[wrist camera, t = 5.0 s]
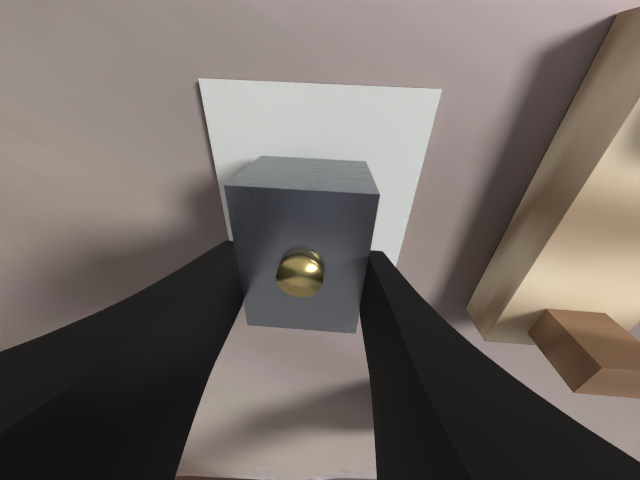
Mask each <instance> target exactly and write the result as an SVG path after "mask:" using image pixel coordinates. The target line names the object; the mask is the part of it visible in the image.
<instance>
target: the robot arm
mask: <svg viewBox="0 0 640 480" xmlns="http://www.w3.org/2000/svg"><path fill="white" fill-rule="evenodd" d="M243 301H244V298H243V292H242V286H241V280H240V274H239V268H238V262H237V256H236V250H235V247H234V243H233V241H227V240H226V241H225V242H223V243H221V244H219V245H217V246H216V247H214V248H213V249H211V250H209V251H208V252H206V253H205V254H203V255H201V256H200V257H198V258H197V259H195V260H193V261H192V262H190V263H188V264H187V265H185V266H184V267H182V268H180V269H179V270H177V271H175V272H174V273H172V274H170V275H168V276H167V277H165V278H163V279H161V280H160V281H158V282H156V283H154V284H153V285H151V286H149V287H147V288H146V289H144V290H142V291H140V292H138V293H136V294H134V295H132V296H130V297H128V298H127V299H124V300H122V301H120V302H118V303H116V304H114V305H112V306H110V307H108V308H106V309H104V310H102V311H99V312H97V313H95V314H93V315H90V316H88V317H86V318H83V319H81V320H79V321H76V322H74V323H72V324H69V325H67V326H65V327H62V328H60V329H58V330H55V331H53V332H51V333H48V334H46V335H43V336H41V337H38V338H36V339H33V340H30V341H28V342H25V343H23V344H20V345H17V346H15V347H12V348H10V349H7V350H4V351H1V352H0V480H174V478H175V475H176V472H177V469H178V466H179V463H180V459H181V456H182V453H183V450H184V447H185V444H186V441H187V438H188V435H189V432H190V429H191V426H192V423H193V420H194V417H195V414H196V411H197V408H198V406H199V403H200V400H201V397H202V395H203V392H204V389H205V386H206V384H207V381H208V378H209V376H210V373H211V371H212V369H213V366H214V364H215V362H216V360H217V357H218V355H219V353H220V351H221V349H222V347H223V345H224V343H225V341H226V339H227V336H228V334H229V332H230V330H231V328H232V326H233V324H234V322H235V320H236V317H237V315H238V313H239V311H240V309H241V307H242V304H243ZM360 320H361V326H362V332H363V338H364V345H365V351H366V357H367V363H368V369H369V375H370V383H371V392H372V406H373V420H374V435H375V451H376V469H377V480H640V462H639V461H637V460H636V459H634V458H633V457H631V456H629V455H628V454H626V453H625V452H623V451H622V450H620V449H618V448H617V447H615V446H614V445H612V444H611V443H609V442H608V441H606V440H604V439H603V438H601V437H600V436H598V435H597V434H595V433H593V432H592V431H590V430H589V429H587V428H586V427H584V426H583V425H581V424H580V423H578V422H577V421H575V420H574V419H572V418H571V417H569V416H568V415H566V414H565V413H564V412H562V411H561V410H559V409H558V408H556V407H555V406H554V405H552V404H551V403H549V402H548V401H546V400H545V399H543V398H542V397H541V396H539V395H538V394H536V393H535V392H533V391H532V390H531V389H529V388H528V387H527V386H525V385H524V384H523V383H521V382H520V381H518V380H517V379H516V378H514V377H513V376H512V375H510V374H509V373H508V372H506V371H505V370H504V369H503V368H501V367H500V366H499V365H497V364H496V363H495V362H494V361H492V360H491V359H490V358H488V357H487V356H486V355H485V354H483V353H482V352H481V351H480V350H478V349H477V348H476V347H475V346H474V345H472V344H471V343H470V342H469V341H468V340H466V339H465V338H464V337H463V336H462V335H461V334H460V333H459V332H457V331H456V330H455V329H454V328H453V327H452V326H451V325H449V324H448V323H447V322H446V321H445V320H444V319H443V318H442V317H441V316H440V315H439V314H438V313H437V312H436V311H435V310H434V309H433V308H432V307H431V306H430V305H429V304H428V303H427V302H426V301H425V300H424V299H423V298H422V297H421V296H420V295H419V294H418V293H417V292H416V290H415V289H414V288H413V287H412V286H411V285H410V284H409V283H408V281H407V280H406V279H405V278H404V277H403V275H402V274H401V273H400V272H399V271H398V269H397V268H396V267H395V266H394V264H393V263H392V262H391V261H390V259H389V258H388V257H387V256H386V255H385V253H384V252H383V251H375V250H370V255H369V257H368V263H367V269H366V274H365V280H364V286H363V291H362V297H361V303H360Z"/></svg>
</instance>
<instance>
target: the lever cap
mask: <svg viewBox="0 0 640 480" xmlns="http://www.w3.org/2000/svg"><path fill="white" fill-rule="evenodd" d="M224 190H225V196H226V202H227V208H228V213H229V219H230V225H231V231H232V237H233V243H234V247H235V250H236V256H237V262H238V268H239V274H240V280H241V286H242V292H243V298H244V307H245V313H246V319H247V324H248V325H254V326H266V327H279V328H292V329H304V330H317V331H330V332H342V333H355V334H356V329H357V323H358V317H359V312H360V303H361V297H362V291H363V286H364V280H365V274H366V269H367V263H368V257H369V255H370V250H371V244H372V238H373V233H374V227H375V221H376V216H377V210H378V204H379V199H380V193H379V190H378V188H377V186H376V183H375V181H374V179H373V176H372V174H371V172H370V169H369V167H368V165H367V162H366V161H350V160H332V159H314V158H296V157H278V156H260V157H259V158H258V159H256V160H255V161H254V162H252V163H251V164H250V165H249V166H247V167H246V168H245V169H244V170H242V171H241V172H240V173H238V174H237V175H236V176H235V177H233V178H232V179H231V180H230V181H228V182H227V183H226V184H224Z"/></svg>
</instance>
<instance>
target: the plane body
mask: <svg viewBox="0 0 640 480" xmlns="http://www.w3.org/2000/svg"><path fill="white" fill-rule="evenodd" d="M466 310H467V312H468V314H469V316H470V317H471V319H472V321H473V322H474V324H475V326H476V328H477V329H478V331H479V333H480V335H481V336H482V338H483V340H484V341H490V342H502V343H515V344H527V345H537V346H538V348H539V349H540V350H541V351H542V353H543V354H544V355H545V357H546V358H547V359H548V360H549V362H550V363H551V364H552V366H553V367H554V368H555V369H556V371H557V372H558V373H559V375H560V376H561V377H562V378H563V380H564V381H565V382H566V384H567V385H568V386H569V387H570V389H571V390H572V391H573V393H583V394H594V395H606V396H617V397H629V398H640V342H639V341H638V340H637V339H636V338H635V337H633V336H632V335H631V334H630V333H629V332H628V331H629V330H630V329H631V328H632V327H634V326H635V325H636V324H637V323H638V322H639V321H640V7H637V8H634V9H630V10H626V11H623V12H619V13H618V14H617V16H616V17H615V19H614V21H613V23H612V25H611V27H610V29H609V31H608V33H607V35H606V37H605V39H604V41H603V43H602V45H601V47H600V49H599V51H598V52H597V54H596V56H595V58H594V60H593V62H592V64H591V66H590V68H589V70H588V72H587V74H586V76H585V78H584V80H583V82H582V84H581V85H580V87H579V89H578V91H577V93H576V95H575V97H574V99H573V101H572V103H571V105H570V107H569V109H568V111H567V113H566V115H565V117H564V118H563V120H562V122H561V124H560V126H559V128H558V130H557V132H556V134H555V136H554V138H553V140H552V142H551V144H550V146H549V148H548V150H547V152H546V153H545V155H544V157H543V159H542V161H541V163H540V165H539V167H538V169H537V171H536V173H535V175H534V177H533V179H532V181H531V183H530V185H529V186H528V188H527V190H526V192H525V194H524V196H523V198H522V200H521V202H520V204H519V206H518V208H517V210H516V212H515V214H514V216H513V218H512V219H511V221H510V223H509V225H508V227H507V229H506V231H505V233H504V235H503V237H502V239H501V241H500V243H499V245H498V247H497V249H496V251H495V253H494V254H493V256H492V258H491V260H490V262H489V264H488V266H487V268H486V270H485V272H484V274H483V276H482V278H481V280H480V282H479V284H478V286H477V287H476V289H475V291H474V293H473V295H472V297H471V299H470V301H469V303H468V305H467V307H466Z"/></svg>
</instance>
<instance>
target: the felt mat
mask: <svg viewBox="0 0 640 480" xmlns="http://www.w3.org/2000/svg"><path fill="white" fill-rule="evenodd" d="M198 79H199V85H200V90H201V95H202V100H203V106H204V111H205V116H206V121H207V127H208V132H209V137H210V142H211V148H212V153H213V158H214V163H215V169H216V174H217V179H218V184H219V190H220V195H221V200H222V205H223V211H224V216H225V221H226V226H227V232H228V237H229V241H233V237H232V231H231V225H230V219H229V213H228V208H227V202H226V196H225V190H224V184H226V183H227V182H228V181H230V180H231V179H232V178H233V177H235V176H236V175H237V174H238V173H240V172H241V171H242V170H244V169H245V168H246V167H247V166H249V165H250V164H251V163H252V162H254V161H255V160H256V159H258V158H259V157H260V156H278V157H296V158H314V159H332V160H350V161H366V162H367V165H368V167H369V169H370V172H371V174H372V176H373V179H374V181H375V183H376V186H377V188H378V190H379V193H380V199H379V204H378V210H377V216H376V221H375V227H374V233H373V238H372V244H371V250H375V251H383V252H384V253H385V255H386V256H387V257H388V258H389V259H390V261H391V262H392V263H393V264H394V266H395V267H396V264H397V261H398V257H399V253H400V249H401V245H402V241H403V238H404V234H405V230H406V226H407V222H408V218H409V214H410V211H411V207H412V203H413V199H414V195H415V191H416V188H417V184H418V180H419V176H420V172H421V168H422V165H423V161H424V157H425V153H426V149H427V145H428V142H429V138H430V134H431V130H432V126H433V122H434V118H435V115H436V111H437V107H438V103H439V99H440V95H441V92H442V89H425V88H403V87H380V86H358V85H336V84H313V83H291V82H268V81H246V80H224V79H201V78H198Z"/></svg>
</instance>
